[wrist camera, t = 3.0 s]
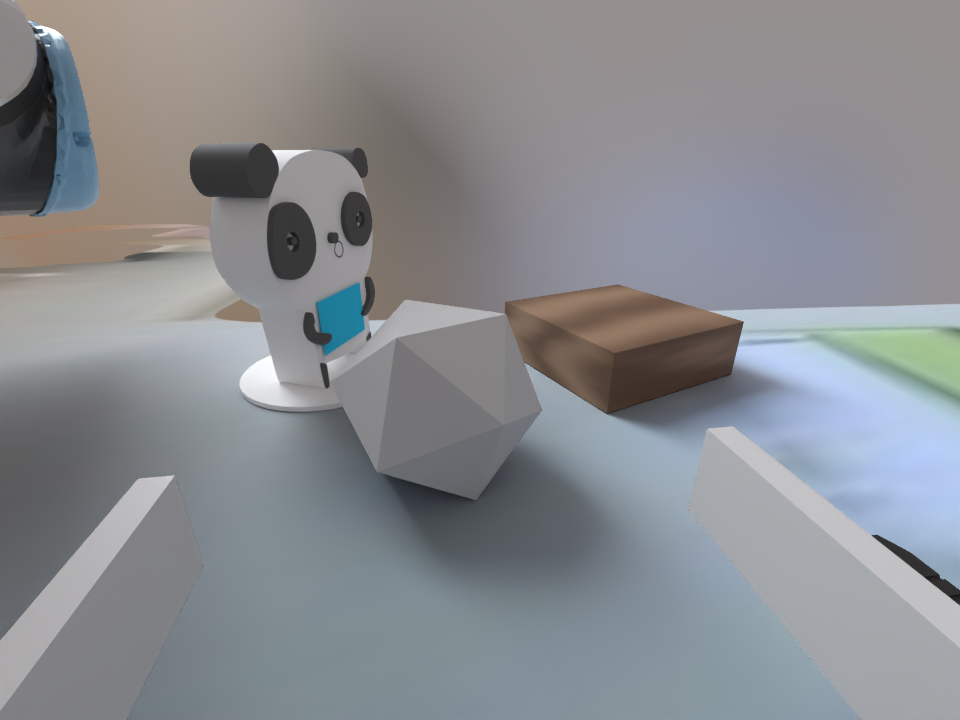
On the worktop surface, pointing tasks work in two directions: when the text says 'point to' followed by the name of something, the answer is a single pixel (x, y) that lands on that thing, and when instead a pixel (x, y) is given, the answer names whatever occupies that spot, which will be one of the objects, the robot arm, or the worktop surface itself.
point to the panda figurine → (293, 260)
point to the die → (439, 396)
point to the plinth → (622, 343)
